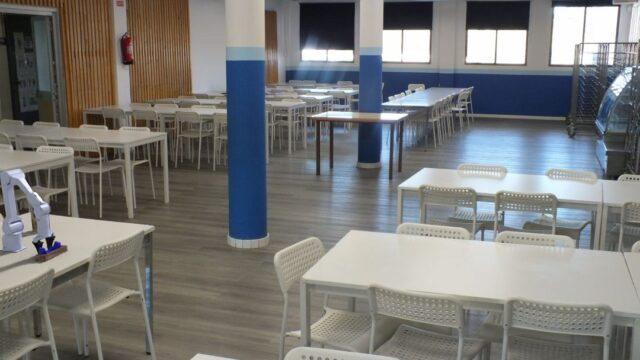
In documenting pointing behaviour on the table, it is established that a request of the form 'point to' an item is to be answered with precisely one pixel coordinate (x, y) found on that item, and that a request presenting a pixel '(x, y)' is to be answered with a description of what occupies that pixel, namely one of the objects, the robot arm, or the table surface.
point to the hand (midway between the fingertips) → (44, 251)
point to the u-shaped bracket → (51, 254)
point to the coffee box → (34, 220)
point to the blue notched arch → (52, 248)
